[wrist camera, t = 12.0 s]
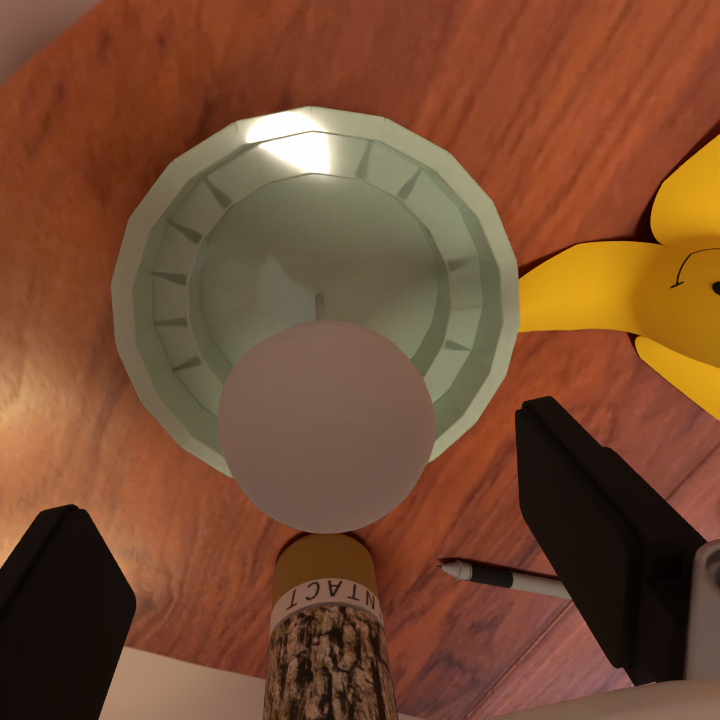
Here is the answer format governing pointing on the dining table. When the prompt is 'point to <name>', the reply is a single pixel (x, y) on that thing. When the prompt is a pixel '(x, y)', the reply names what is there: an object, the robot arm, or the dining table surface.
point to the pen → (505, 579)
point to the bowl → (312, 264)
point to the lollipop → (326, 425)
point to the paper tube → (327, 635)
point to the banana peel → (649, 284)
